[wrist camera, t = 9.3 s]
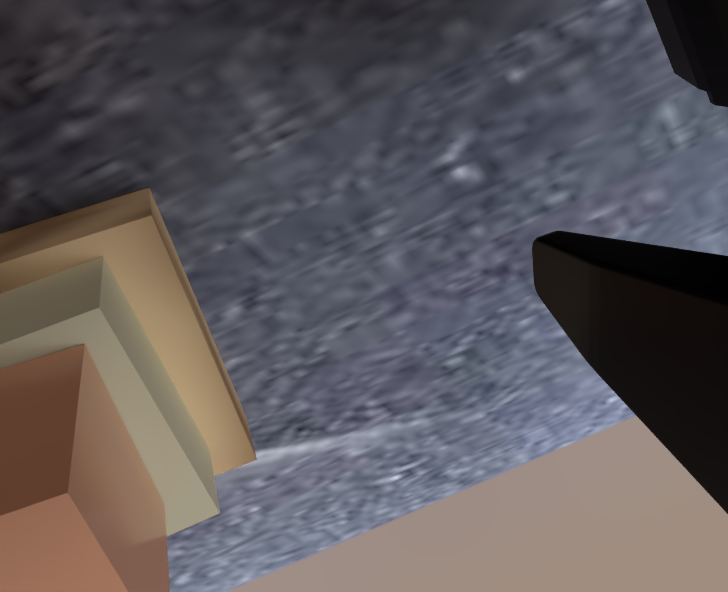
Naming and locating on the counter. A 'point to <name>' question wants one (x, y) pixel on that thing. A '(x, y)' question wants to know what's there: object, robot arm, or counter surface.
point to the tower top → (117, 377)
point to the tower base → (142, 303)
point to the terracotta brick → (73, 485)
